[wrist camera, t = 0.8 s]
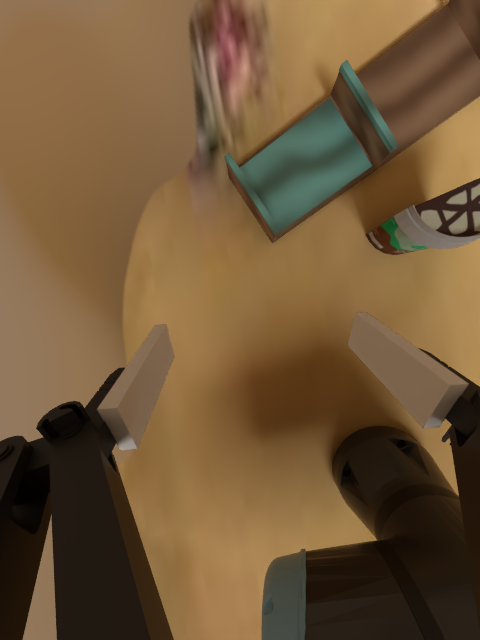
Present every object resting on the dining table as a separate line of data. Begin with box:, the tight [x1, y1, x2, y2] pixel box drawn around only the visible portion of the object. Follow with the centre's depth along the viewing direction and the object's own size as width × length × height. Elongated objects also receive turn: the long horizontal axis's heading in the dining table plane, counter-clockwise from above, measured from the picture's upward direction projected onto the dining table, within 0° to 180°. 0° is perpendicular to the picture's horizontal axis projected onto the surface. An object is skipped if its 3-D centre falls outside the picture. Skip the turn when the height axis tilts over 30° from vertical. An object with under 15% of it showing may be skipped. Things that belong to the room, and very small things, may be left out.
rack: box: [224, 0, 480, 243], centre depth 26 cm, size 12×36×5 cm, turn 124°
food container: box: [366, 178, 480, 255], centre depth 25 cm, size 12×6×10 cm, turn 113°
